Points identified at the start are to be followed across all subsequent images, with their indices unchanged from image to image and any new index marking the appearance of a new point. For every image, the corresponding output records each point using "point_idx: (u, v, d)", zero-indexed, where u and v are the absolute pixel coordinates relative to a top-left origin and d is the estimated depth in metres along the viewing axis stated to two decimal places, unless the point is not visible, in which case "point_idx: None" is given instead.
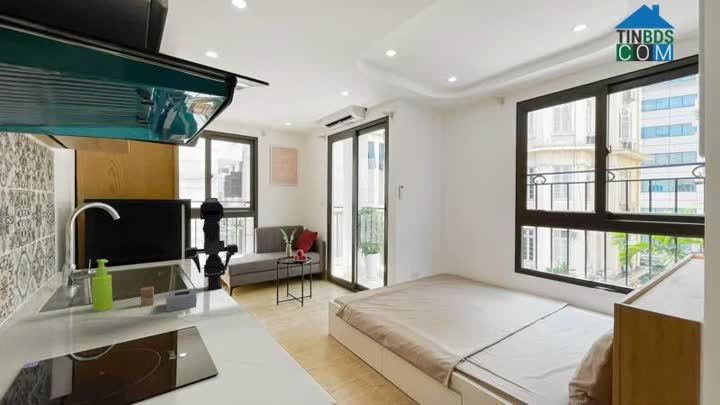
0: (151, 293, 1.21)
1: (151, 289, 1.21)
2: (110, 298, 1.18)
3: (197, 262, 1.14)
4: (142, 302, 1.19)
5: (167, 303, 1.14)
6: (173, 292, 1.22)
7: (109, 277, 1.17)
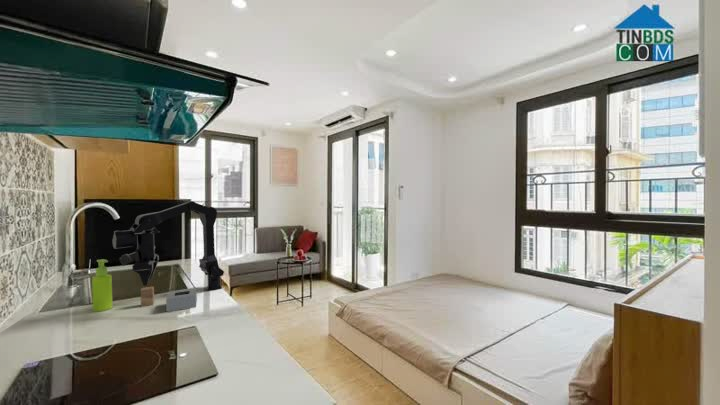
0: (151, 293, 1.21)
1: (151, 289, 1.21)
2: (110, 298, 1.18)
3: None
4: (142, 302, 1.19)
5: (167, 303, 1.14)
6: (173, 292, 1.22)
7: (109, 277, 1.17)
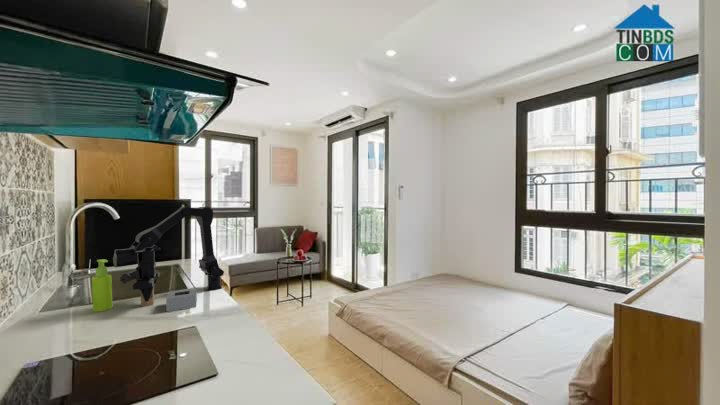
0: (151, 293, 1.21)
1: None
2: (110, 298, 1.18)
3: None
4: (142, 302, 1.19)
5: (167, 303, 1.14)
6: (173, 292, 1.22)
7: (109, 277, 1.17)
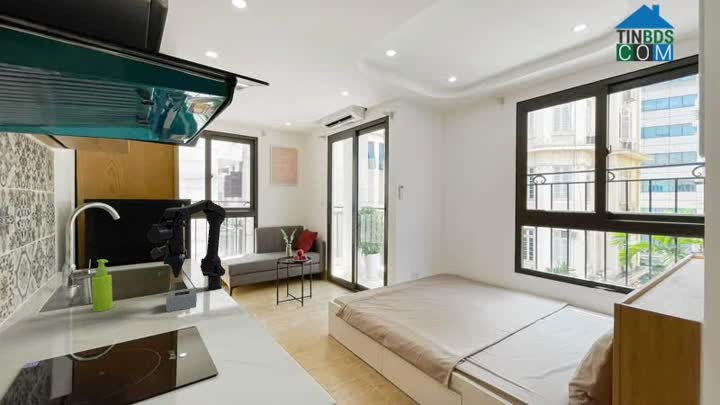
0: (180, 270, 1.19)
1: None
2: (110, 298, 1.18)
3: None
4: (171, 278, 1.18)
5: (167, 303, 1.14)
6: (173, 292, 1.22)
7: (109, 277, 1.17)
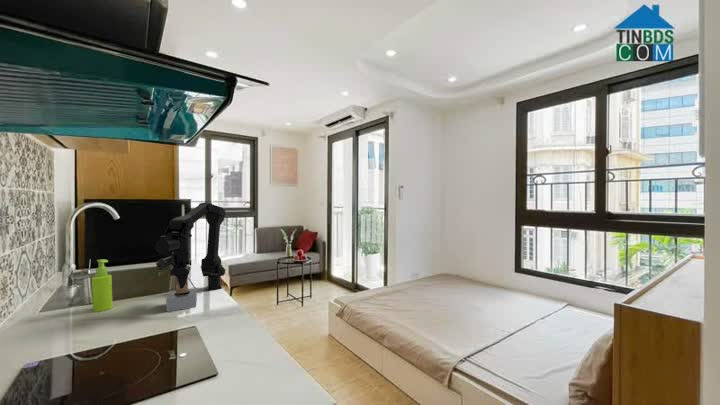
0: (186, 280, 1.19)
1: None
2: (110, 298, 1.18)
3: None
4: (177, 289, 1.18)
5: (167, 303, 1.14)
6: (173, 292, 1.22)
7: (109, 277, 1.17)
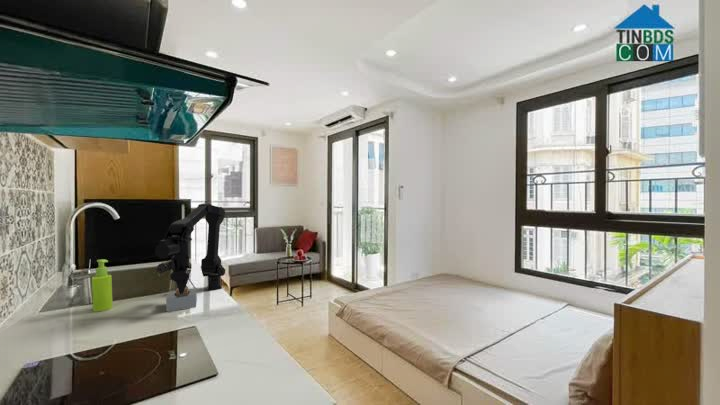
0: None
1: (186, 290, 1.19)
2: (110, 298, 1.18)
3: None
4: None
5: (167, 303, 1.14)
6: (173, 292, 1.22)
7: (109, 277, 1.17)
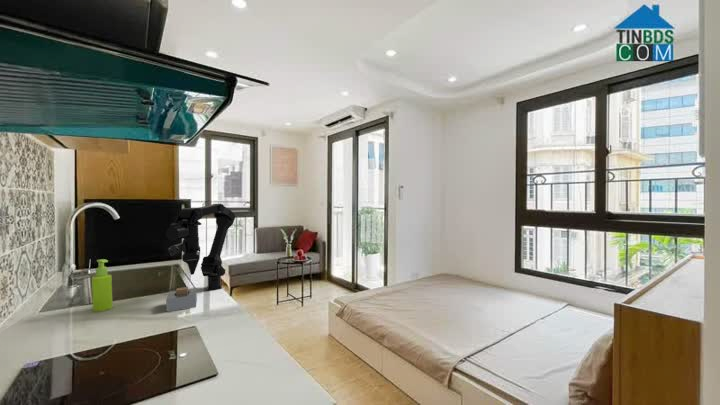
0: None
1: (186, 290, 1.19)
2: (110, 298, 1.18)
3: None
4: None
5: (167, 303, 1.14)
6: (173, 292, 1.22)
7: (109, 277, 1.17)
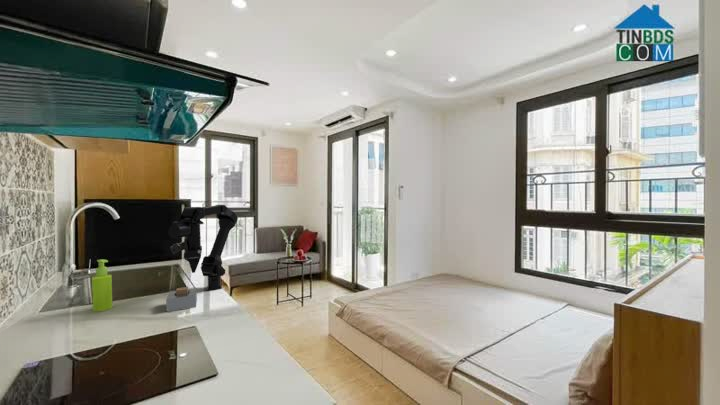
0: None
1: (186, 290, 1.19)
2: (110, 298, 1.18)
3: None
4: None
5: (167, 303, 1.14)
6: (173, 292, 1.22)
7: (109, 277, 1.17)
